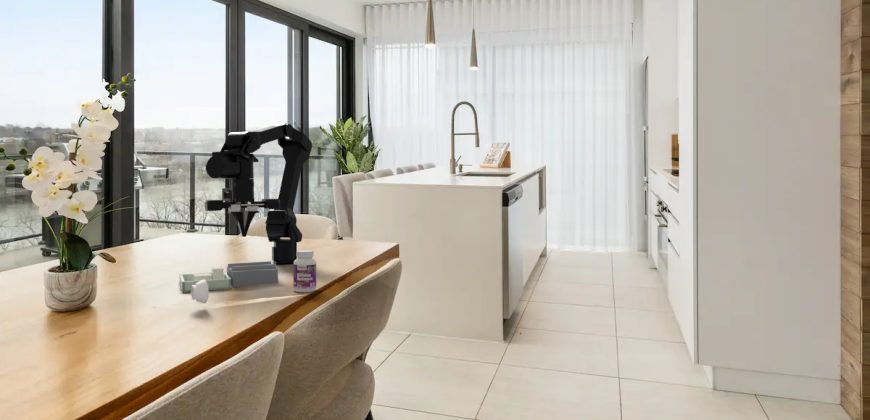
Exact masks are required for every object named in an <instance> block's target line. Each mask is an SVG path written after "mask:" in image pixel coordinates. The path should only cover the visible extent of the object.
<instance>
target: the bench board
mask: <svg viewBox="0 0 870 420" xmlns="http://www.w3.org/2000/svg"><path fill="white" fill-rule="evenodd" d="M226 274H227V275H228V276H229V277H230V278H231V288H240V287H250V286H258V285H266V284H275V283H276V284H277V283H279V269H278V268H277V263H272V261H271V260H268V261H250V262H249V261H248V262H231V263H227V266H226Z"/></svg>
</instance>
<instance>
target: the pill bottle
mask: <svg viewBox="0 0 870 420" xmlns="http://www.w3.org/2000/svg"><path fill="white" fill-rule="evenodd" d="M296 256H297V259H296V260H295V261H294V263H293V270H292V271H293V291H294V292H296V293H311V292H315V291H316V290H317V261H316V260H315V259H314V250H310V249H309V250H307V249H305V250H304V249H303V250H301V249H300V250H297V252H296Z"/></svg>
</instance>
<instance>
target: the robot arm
mask: <svg viewBox="0 0 870 420" xmlns="http://www.w3.org/2000/svg"><path fill="white" fill-rule="evenodd" d="M276 140H277V144H278V146H280V148H281V149H282V153H281V154H282V157H283V159H284V160H285V163H284V168H283V174H282V178H281V183H280V189H279V193H278V197H277V198H262V199H261V200H257V201H255V180H254V179H255V177H254V176H255V175H254V163H259V159H258V158H257V157H256V156H255V155H254V154H253V153H255V152H256V151H258V150H260V148H261V147H262V145H264V144H267V143H270V142H273V141H276ZM312 148H313V143H312V141H311V140H310V138H309V137H308V136H307V135H306V134H305V133H304V132H303V131H302V132H301V131H300V130H298V129H296V128H295V127H294V126H293V125H292V124H290V123H288V122H283V123H282V122H281V123H275V124H273V125H269V126H267V127H263V128H261V129H257V130H252V131H237V132H236V131H235V132H233V131H232V132H229V133H228V134H227V137H226V140H225V141H224V143H223V145H222V147H221V149H220V151H212V152H211V156H210V157H209V159H207V162H206V164H205V171H206V173H207V175H208V176H209V177H210V178H211V179H219V180H222V179H225V180H226V179H227V180H228V179H229V180H231V181H230V183H231V185H230V186H231V187H228V188H227V187H225V188H222V189H221V198H222V199H207V200H206V201H205V202H204V211H206V212H219V211H220V212H221V211H222V210H223V209H228V211H227V213H228V214H229V215H230V214H231V215H232V217H233V218H234V220H235V221H236V224H237V227H238V228H239V232H240V234H241V237H243V238H246V237H247V234H248V232H249V229H250V226H251V223H252V222H253V219H254V217H255V216H256V214H259V213H260V210H258V209H260V208H263V209H264V210H265V209H268V212H267V213H266V215H267V216H266V219H265V220H266V221H265V222H264V223H265V232H266V236H267V240H268V242H269V243H272V242H273V246H271V260H272V262H273V263H274V264H276V265H278V264H288V263H289V264H294V261H295V260H296V259H298V257H297V256H296V252H297V251H298V249H297V248H298V243H300V242H301V243H302V241H303V233H302V232H301V230H300V228H299V227H298V225H297V221H298V220H297V216H296V214H295V211H294V207H295V203H296V197H297V193H298V188H299V181H300V179H301V178H300V177H301V173H302V167H303V165H305V163H306V162H307V161H308V159H309V158H310V155H311V152H312ZM241 209H245V210H243V211H241ZM243 213H244V214H243Z"/></svg>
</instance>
